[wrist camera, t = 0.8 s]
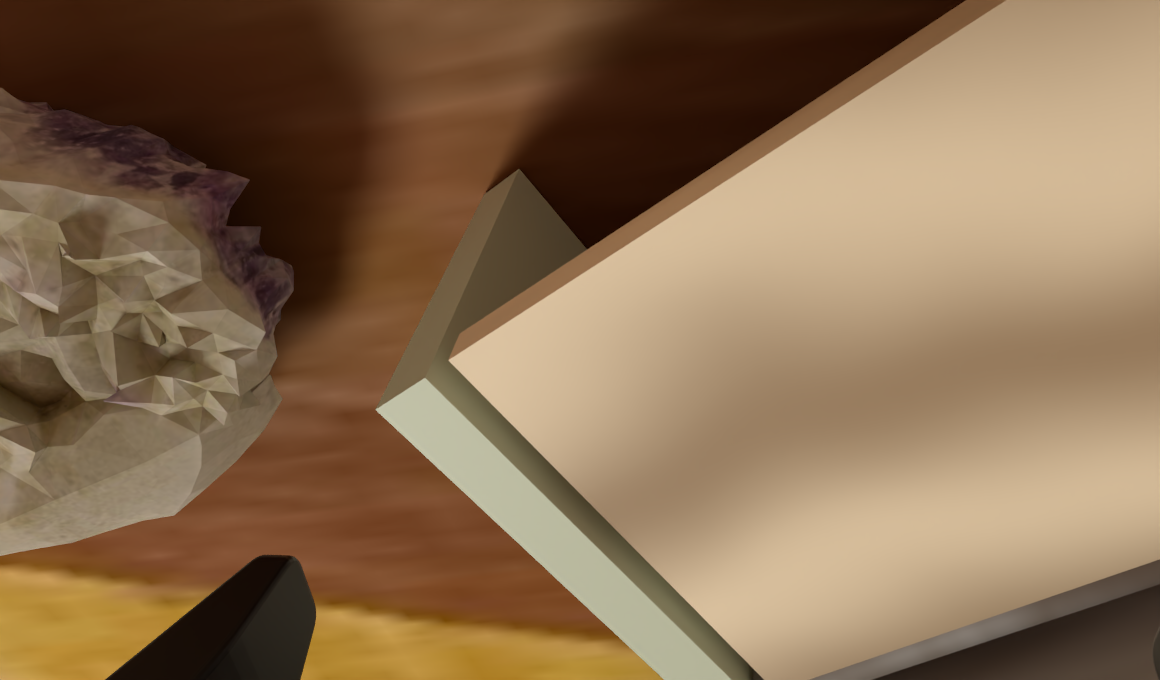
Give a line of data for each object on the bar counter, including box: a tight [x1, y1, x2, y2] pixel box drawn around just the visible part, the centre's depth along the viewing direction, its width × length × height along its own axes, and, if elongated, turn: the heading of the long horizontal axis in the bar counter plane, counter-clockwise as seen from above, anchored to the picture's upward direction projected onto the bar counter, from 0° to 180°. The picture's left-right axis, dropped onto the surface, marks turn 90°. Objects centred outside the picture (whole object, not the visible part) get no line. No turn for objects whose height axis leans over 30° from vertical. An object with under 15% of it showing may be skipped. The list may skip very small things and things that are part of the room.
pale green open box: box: [376, 169, 753, 680], centre depth 18 cm, size 18×16×9 cm
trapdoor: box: [448, 0, 1160, 680], centre depth 15 cm, size 16×12×4 cm
